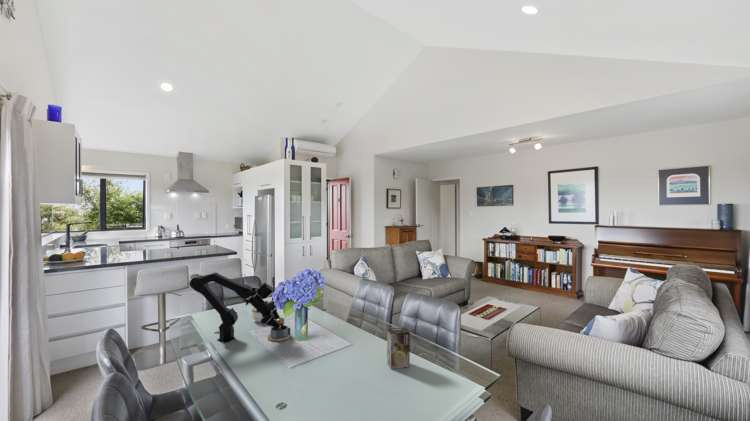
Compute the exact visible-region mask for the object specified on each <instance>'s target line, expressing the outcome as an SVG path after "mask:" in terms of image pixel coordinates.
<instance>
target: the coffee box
mask: <svg viewBox="0 0 750 421" xmlns="http://www.w3.org/2000/svg"><path fill="white" fill-rule="evenodd" d="M386 331H387V332H386V364H387V365H388V367H389V370H390V369H391V370H397V369H405V368H404V367H406V368H410V361H411V360H410V359H411V358H410V357H411V356H410V354H411V353H410V351H411V349H410V348H411V347H410V346H411V342H410V341H411V340H410V339H411V336H410V334H411V332H410V331H409V330H408V329H407V328H406V327H394V328H387V329H386ZM396 368H397V369H396Z"/></svg>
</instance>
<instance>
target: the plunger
mask: <svg viewBox="0 0 750 421" xmlns="http://www.w3.org/2000/svg"><path fill="white" fill-rule="evenodd" d="M275 320H276V322H277V323H278V324H279V326H280V327H279V331H280V329H281V325H285V318H284V317H280V318H277V319H275Z"/></svg>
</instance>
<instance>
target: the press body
mask: <svg viewBox="0 0 750 421" xmlns="http://www.w3.org/2000/svg"><path fill="white" fill-rule="evenodd" d="M291 335H292V333H291V327H289V326H288V325H285V324H284V325H281V329H280V331H279V328H276V327H273V326H270V333H269V334H268V336H267V340H268V341H270V342H275V343H276V342H277V343H278V342H284V341H287V340H289V339H291V337H292V336H291Z"/></svg>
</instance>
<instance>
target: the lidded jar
mask: <svg viewBox="0 0 750 421" xmlns="http://www.w3.org/2000/svg"><path fill="white" fill-rule="evenodd" d="M251 315H252V319H253V320H254V321H255V323H261V319H262V318H263V317H262V314H261V313H260V312H259V311H258V312H257V311H256V309H255V308H254V307H252V309H251Z"/></svg>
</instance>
